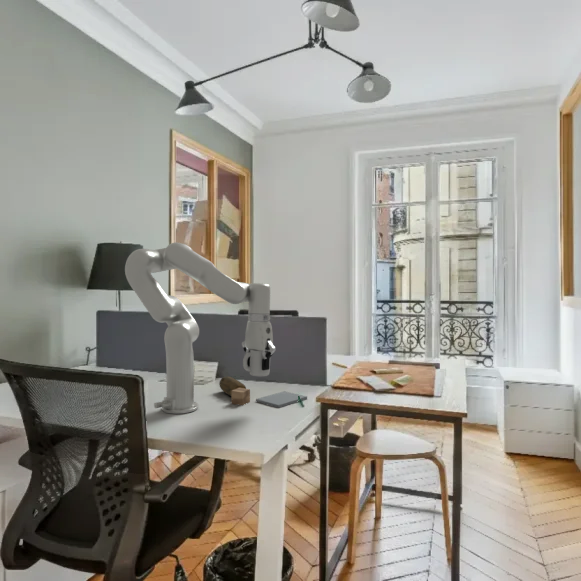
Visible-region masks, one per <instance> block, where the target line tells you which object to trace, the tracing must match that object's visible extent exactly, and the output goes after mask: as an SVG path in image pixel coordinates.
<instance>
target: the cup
mask: <svg viewBox="0 0 581 581" xmlns="http://www.w3.org/2000/svg"><path fill="white" fill-rule="evenodd" d="M269 351H270V350H269ZM265 353H266V354H267V352H265ZM248 357H250V367H248V365H247V360H248ZM262 359H264V358H263V355H262V352H261V351H256V350H251V349H250V352H249V353H247V354H246V355H245V354H244V356H243V359H242V367H243V369H244V370H245V371H246V372H249V375H250V376H253V377H267V376H269V375H270V371H271V370H270V369H271V368H270V366H271V363H270V364H269V370H262Z"/></svg>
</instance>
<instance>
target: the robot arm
mask: <svg viewBox="0 0 581 581" xmlns="http://www.w3.org/2000/svg"><path fill="white" fill-rule="evenodd" d="M125 261H126V262H125V266H124V272H125V273H124V274H125V277H126V280H127V283H128V284H129V286H130V287H131V289H132V290H133V292H134V293H135V294H136V296H137V297H138V299H139V300H140V301H141V303H142V305H143V306H144V307H145V309H146V310H147V312H148V313H149V315H150V316H151V318H152V319H153V320H154V321H155V322H158V323H163V324H164V323H166V325H167V327H166V329H165V331H164V337H163V338H164V345H165V346H164V348H165V360H166V362H165V363H166V364H165V366H166V396H165V397H163V400H161V401H158V402H155V403H154V404H153V407H154V409H158V408H161V410H162V411H163V413H167V414H179V415H180V414H187V413H188V414H189V413H192V412H195V411H197V409H199V404H198V402H195V392H194V391H195V387H194V386H195V384H194V383H195V380H194V379H195V378H194V377H195V375H194V374H195V371H194V370H195V369H194V367H195V366H194V365H195V362H194V359H195V358H194V349H193V348H194V347H193V343H194V342H195V341H197V339H198V338H199V336H200V327H199V324H198V323H197V321H196V319H195V318H194V317H193V315H192V314H191V313H190V311H189V310H188V308H187V306H185V304H184V303H183V301H181V299H179V298H178V297H177V296H175V295H171V294H170V295H169V294H167V293H166V292H165V290H164V289H163V288H162V286H161V284H160V283H159V282H158V281H157V279H155V277H154V276H153V275H152V274H155V273H160V272H161V273H162V272H166V271H171V270H176V269H177V270H178V271H180V272H182V273H183V274H185V276H188V277H190V278H191V279H193V280H194V281H196V282H198V283H199V284H200V285H201V286H202V287H204V288H205V289H207V290H208V291H210V292H211V293H212V294H214V295H216V296H217V297H219V298H221V299H222V300H224V301H225V302H227V303H228V304H229V303H230V304H231V305H232V304H233V305H239V304H242V303H243V304H244V303H248V313H247V314H248V316H247V317H248V318H247V322H246V328H245V334H244V335H245V337H244V340H243V341H242V342H241V346H242V348H243V351H244V356H245V355H246V354H247V353H249V352H250V349H251V350H256V351H261V352H262V355H263V358H264V359H262V370H269V364H270V365H271V358H272V356H273V355H274V353H275V352H276V350H277V348H276V346H275V345H274V337H273V335H274V334H273V326H272V323H271V322H270V320H271V318H272V317H271V316H270V314H271V312H270V310H271V285H270V284H267V283H263V282H262V283H259V282H257V283H256V282H255V283H249V282H241V281H236V280H234V279H232V278H231V277H230V276H228V275H226V274H225V273H223V272H222V271H221V270H219V269H218V268H217V267H216V266H215V265H214V263H213V262H212V261H210V260H209V259H208V258H206V257H204V256H202V255H200V254H199V253H197V252H196V251H194V250H193V248H192V247H190V246H189V245H187V244H186V243H181V242H176V241H175V242H172V243H169V244H168V245H167V246H166V247H164V248H159V249H148V248H138V249H135V250H133V251H132V252H131V253H130V254H129V256H128V257H127V259H126V260H125ZM269 350H270V351H269ZM265 352H267V354H266V353H265ZM247 365H248V367H250V357H248V360H247Z"/></svg>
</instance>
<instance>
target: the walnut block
mask: <svg viewBox="0 0 581 581" xmlns="http://www.w3.org/2000/svg"><path fill="white" fill-rule="evenodd" d="M246 403H247V404H249V403H251V389H249V388H246V389H244V388H237V389H235V390H232V396H231V404H232V405H236V404H239V405H238V406H245V405H247V404H246ZM244 404H245V405H244Z"/></svg>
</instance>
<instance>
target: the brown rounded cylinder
mask: <svg viewBox="0 0 581 581" xmlns="http://www.w3.org/2000/svg"><path fill="white" fill-rule="evenodd" d="M218 384H219V388H220V389H221V391H222V392H224V393H225V394H227V395H229V396H231V397H232V390H235V389H237V388H244V389H247V387H246V385H245V384H244V383H242V382H241V381H240V380H237V379H236V378H234V377H232V376H223V377H222V378H221V379H220V380H219V383H218Z"/></svg>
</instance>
